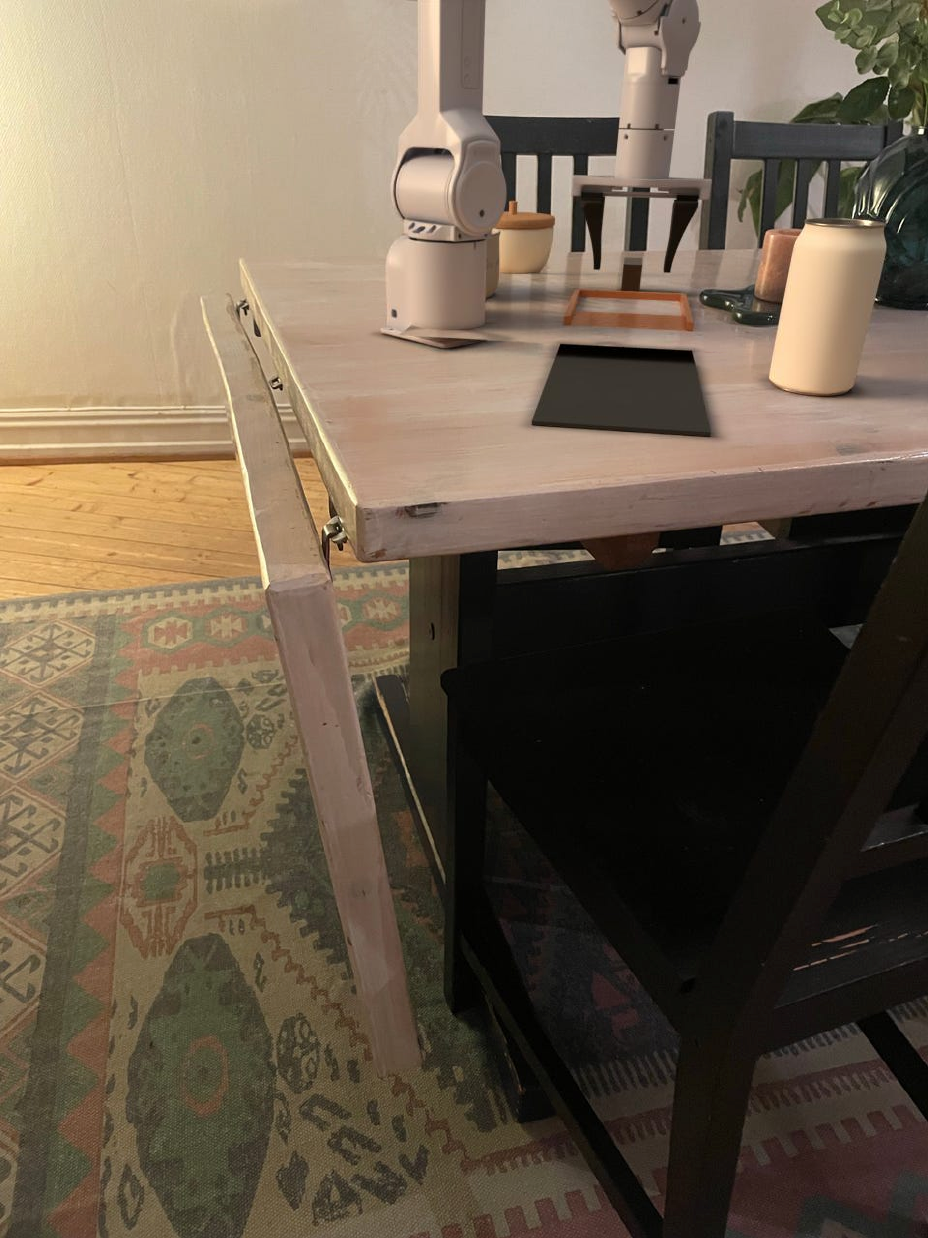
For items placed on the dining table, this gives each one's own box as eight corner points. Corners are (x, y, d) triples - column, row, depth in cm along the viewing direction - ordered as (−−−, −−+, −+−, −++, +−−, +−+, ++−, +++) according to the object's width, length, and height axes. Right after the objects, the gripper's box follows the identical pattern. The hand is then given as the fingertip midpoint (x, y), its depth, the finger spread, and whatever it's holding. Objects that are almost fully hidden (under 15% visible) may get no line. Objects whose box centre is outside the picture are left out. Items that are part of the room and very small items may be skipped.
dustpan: (562, 330, 82) (566, 285, 80) (577, 293, 101) (580, 255, 99) (691, 337, 80) (698, 290, 78) (682, 297, 99) (687, 259, 97)
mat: (531, 424, 59) (531, 420, 59) (561, 342, 81) (561, 339, 81) (710, 436, 57) (710, 432, 57) (691, 349, 80) (691, 346, 79)
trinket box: (565, 278, 115) (570, 200, 110) (526, 289, 107) (530, 206, 102) (496, 271, 120) (498, 196, 115) (454, 281, 112) (454, 201, 107)
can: (755, 375, 71) (784, 217, 65) (830, 375, 72) (865, 217, 66) (787, 397, 66) (821, 226, 60) (868, 396, 66) (910, 226, 60)
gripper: (715, 130, 91) (696, 267, 98) (578, 128, 93) (569, 262, 100) (720, 130, 85) (699, 276, 92) (574, 128, 87) (564, 270, 94)
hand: (631, 269), depth 96 cm, fingers open, 7 cm apart
